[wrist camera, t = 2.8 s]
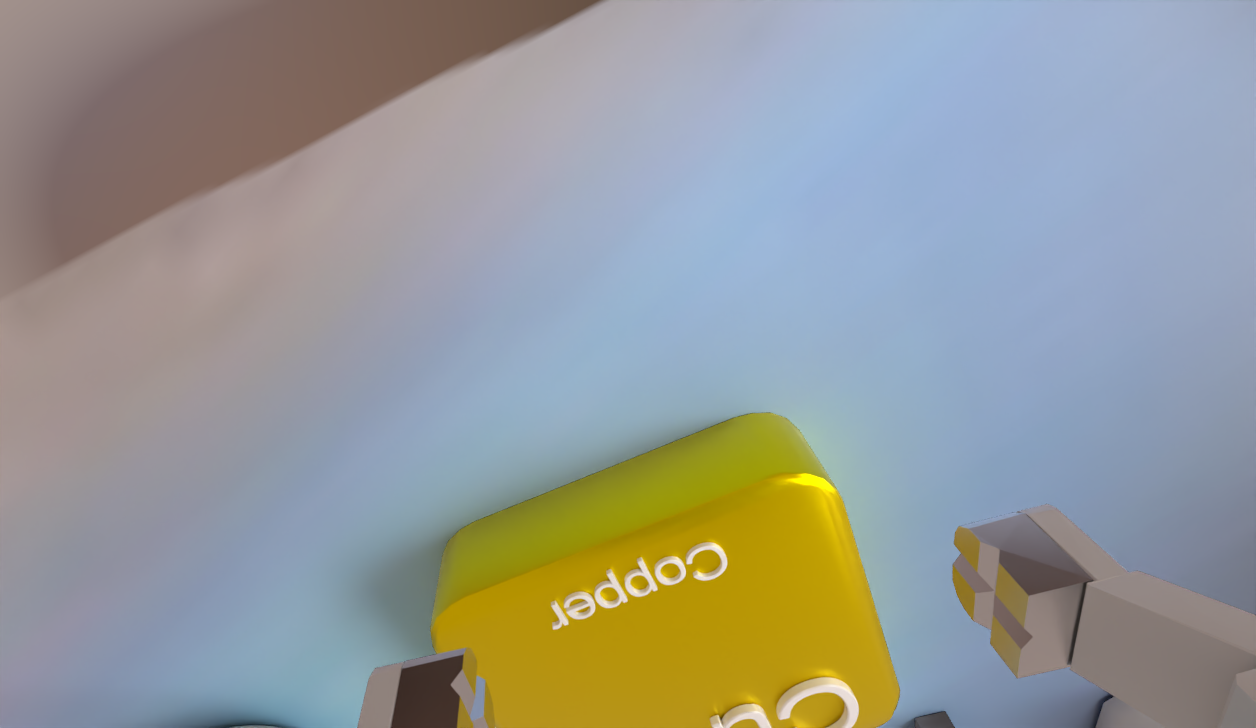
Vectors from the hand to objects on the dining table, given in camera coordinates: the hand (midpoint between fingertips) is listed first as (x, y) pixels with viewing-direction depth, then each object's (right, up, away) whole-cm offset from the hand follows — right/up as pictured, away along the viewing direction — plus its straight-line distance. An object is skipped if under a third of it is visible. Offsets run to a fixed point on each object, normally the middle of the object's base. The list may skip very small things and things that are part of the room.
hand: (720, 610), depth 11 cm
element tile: (0, -6, +18) cm, 19 cm away
